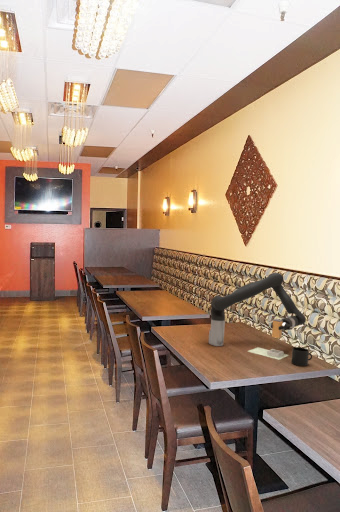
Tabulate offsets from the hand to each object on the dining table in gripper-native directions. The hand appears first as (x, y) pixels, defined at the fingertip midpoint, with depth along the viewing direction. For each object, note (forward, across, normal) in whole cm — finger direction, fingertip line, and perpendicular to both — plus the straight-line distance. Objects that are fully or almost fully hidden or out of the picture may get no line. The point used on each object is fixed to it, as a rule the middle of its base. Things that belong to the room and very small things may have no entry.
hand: (275, 327), depth 262 cm
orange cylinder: (-3, 0, +6) cm, 7 cm away
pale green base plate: (-3, -5, +20) cm, 20 cm away
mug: (-3, +17, +20) cm, 26 cm away
